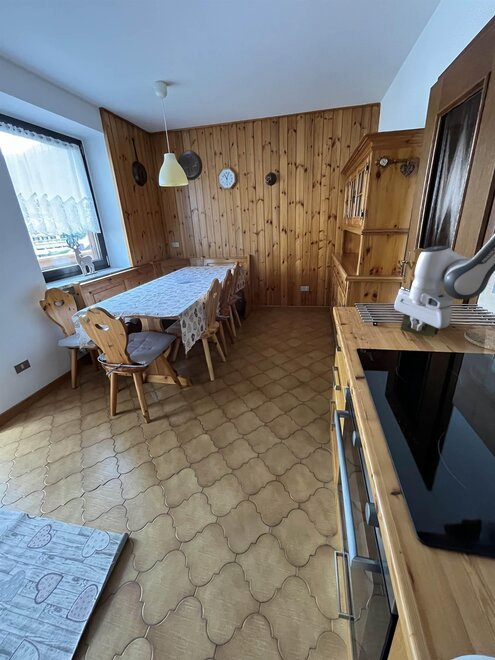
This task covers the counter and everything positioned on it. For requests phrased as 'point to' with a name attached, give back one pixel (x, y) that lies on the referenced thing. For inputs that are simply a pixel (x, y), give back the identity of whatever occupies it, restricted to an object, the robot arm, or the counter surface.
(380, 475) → the counter surface
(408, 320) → the drawer
